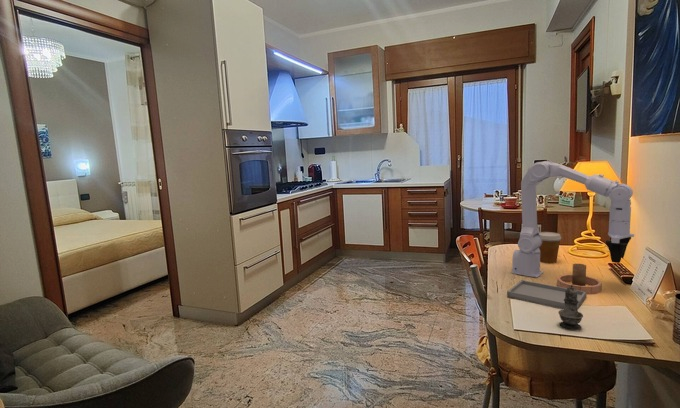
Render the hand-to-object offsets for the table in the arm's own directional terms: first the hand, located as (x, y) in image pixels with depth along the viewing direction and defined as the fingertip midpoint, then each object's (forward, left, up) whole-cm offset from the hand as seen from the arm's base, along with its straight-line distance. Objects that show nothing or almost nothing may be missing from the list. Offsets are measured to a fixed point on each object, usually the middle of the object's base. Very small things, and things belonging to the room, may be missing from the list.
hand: (617, 259), depth 129 cm
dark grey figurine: (-5, -40, -10) cm, 42 cm away
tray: (-16, -22, -10) cm, 29 cm away
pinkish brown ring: (-10, -6, -10) cm, 15 cm away
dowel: (-10, -6, -10) cm, 15 cm away
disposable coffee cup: (-27, +21, -10) cm, 36 cm away
